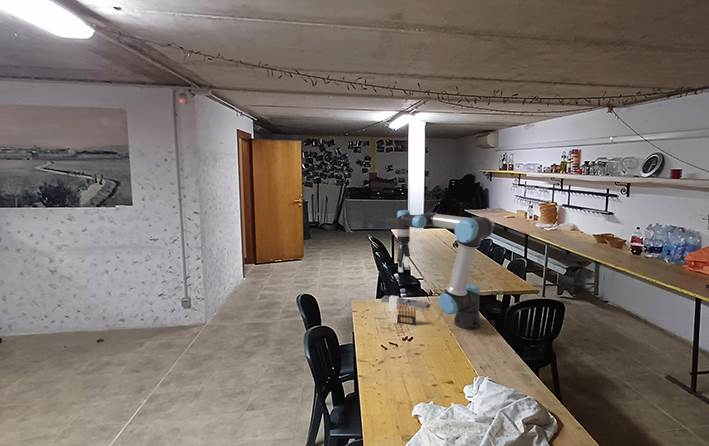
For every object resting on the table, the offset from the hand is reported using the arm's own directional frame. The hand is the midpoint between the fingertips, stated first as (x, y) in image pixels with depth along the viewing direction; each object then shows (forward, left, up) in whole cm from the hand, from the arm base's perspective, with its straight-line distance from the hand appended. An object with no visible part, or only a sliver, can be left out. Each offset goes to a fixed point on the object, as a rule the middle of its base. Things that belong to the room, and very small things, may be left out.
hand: (403, 269), depth 244 cm
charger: (+6, +1, -26) cm, 27 cm away
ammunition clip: (-8, +20, -26) cm, 34 cm away
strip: (-5, -9, -26) cm, 28 cm away
